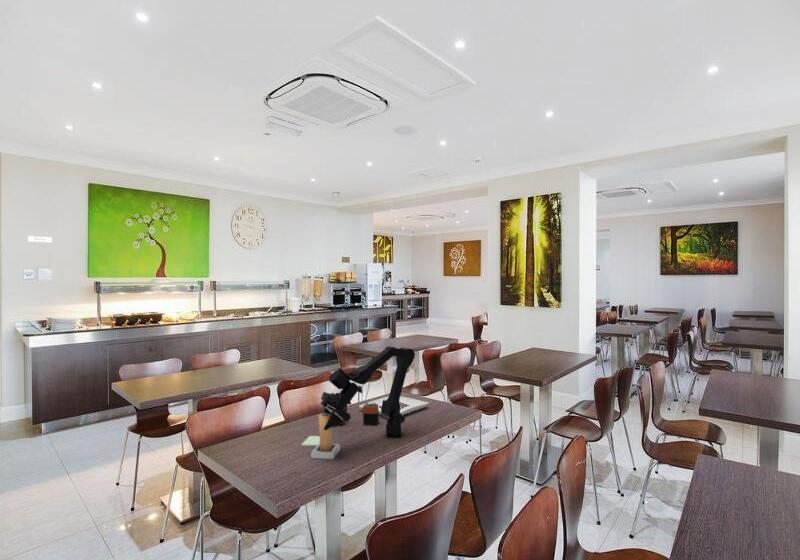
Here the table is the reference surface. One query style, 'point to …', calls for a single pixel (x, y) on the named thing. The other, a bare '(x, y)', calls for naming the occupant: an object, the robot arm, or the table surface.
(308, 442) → the mat
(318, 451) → the frame
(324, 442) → the plug
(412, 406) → the square plate
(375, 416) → the battery
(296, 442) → the table surface
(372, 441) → the table surface
